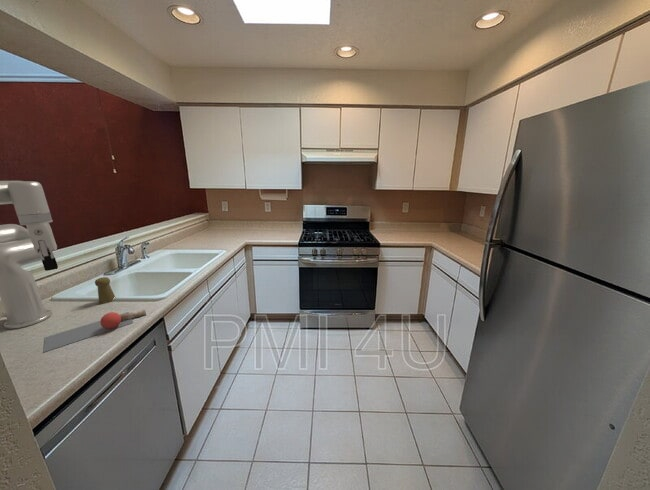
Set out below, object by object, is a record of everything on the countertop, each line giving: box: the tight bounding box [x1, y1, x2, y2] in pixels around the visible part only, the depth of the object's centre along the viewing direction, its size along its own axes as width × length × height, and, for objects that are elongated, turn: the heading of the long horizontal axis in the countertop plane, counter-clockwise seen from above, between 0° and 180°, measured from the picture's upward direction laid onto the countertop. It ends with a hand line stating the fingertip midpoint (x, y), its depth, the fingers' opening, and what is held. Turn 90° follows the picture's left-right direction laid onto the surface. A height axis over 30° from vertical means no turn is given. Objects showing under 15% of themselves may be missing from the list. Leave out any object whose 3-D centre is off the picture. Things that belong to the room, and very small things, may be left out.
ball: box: [99, 311, 121, 329], centre depth 95 cm, size 6×6×6 cm
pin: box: [119, 308, 147, 321], centre depth 102 cm, size 2×2×8 cm
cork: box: [94, 276, 116, 305], centre depth 115 cm, size 6×6×11 cm
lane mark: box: [43, 311, 134, 353], centre depth 95 cm, size 24×11×1 cm, turn 135°
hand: (51, 269), depth 91 cm, fingers closed
